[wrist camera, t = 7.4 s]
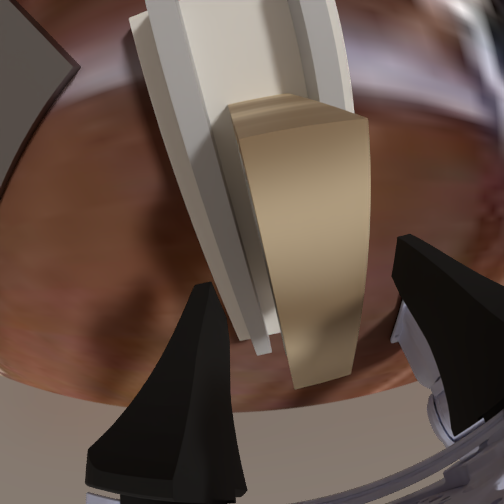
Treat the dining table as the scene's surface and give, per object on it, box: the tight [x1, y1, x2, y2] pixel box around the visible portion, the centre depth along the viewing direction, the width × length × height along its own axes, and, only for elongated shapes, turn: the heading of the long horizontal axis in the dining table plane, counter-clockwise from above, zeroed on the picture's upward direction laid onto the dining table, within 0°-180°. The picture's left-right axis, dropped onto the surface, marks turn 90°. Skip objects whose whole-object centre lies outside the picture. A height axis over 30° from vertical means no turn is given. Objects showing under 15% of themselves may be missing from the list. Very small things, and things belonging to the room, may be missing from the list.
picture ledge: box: [129, 0, 354, 355], centre depth 15 cm, size 24×10×3 cm, turn 12°
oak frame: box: [228, 93, 371, 389], centre depth 12 cm, size 12×3×8 cm, turn 12°
